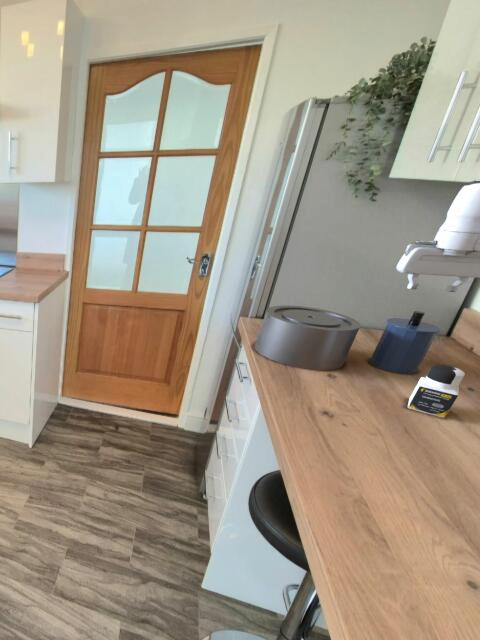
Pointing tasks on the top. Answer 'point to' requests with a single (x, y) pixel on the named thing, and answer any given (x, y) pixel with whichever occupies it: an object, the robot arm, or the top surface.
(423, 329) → the tin lid
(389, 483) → the top surface
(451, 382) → the medicine bottle
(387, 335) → the tin
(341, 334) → the container
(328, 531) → the top surface
